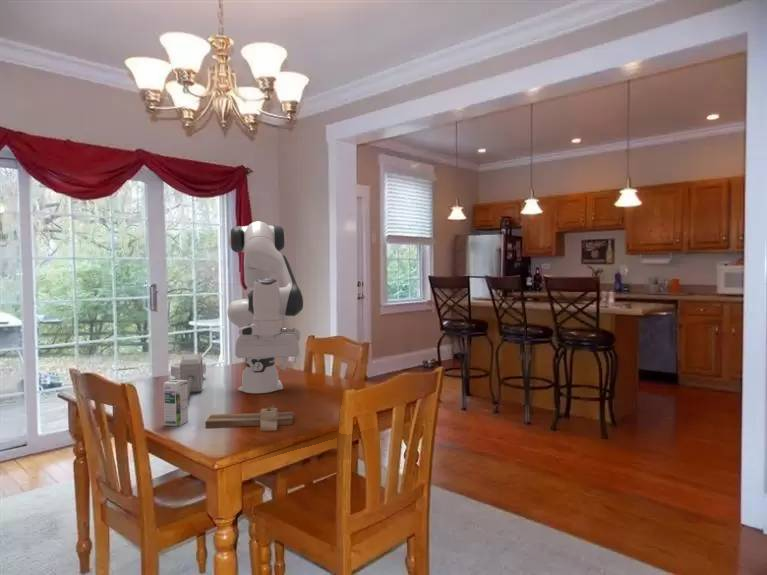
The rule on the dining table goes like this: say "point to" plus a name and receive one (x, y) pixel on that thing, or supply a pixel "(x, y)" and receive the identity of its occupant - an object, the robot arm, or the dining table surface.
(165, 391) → the syrup box
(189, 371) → the hammer
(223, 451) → the dining table surface
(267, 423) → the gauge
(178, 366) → the gray cross block
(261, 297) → the robot arm
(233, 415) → the plank
